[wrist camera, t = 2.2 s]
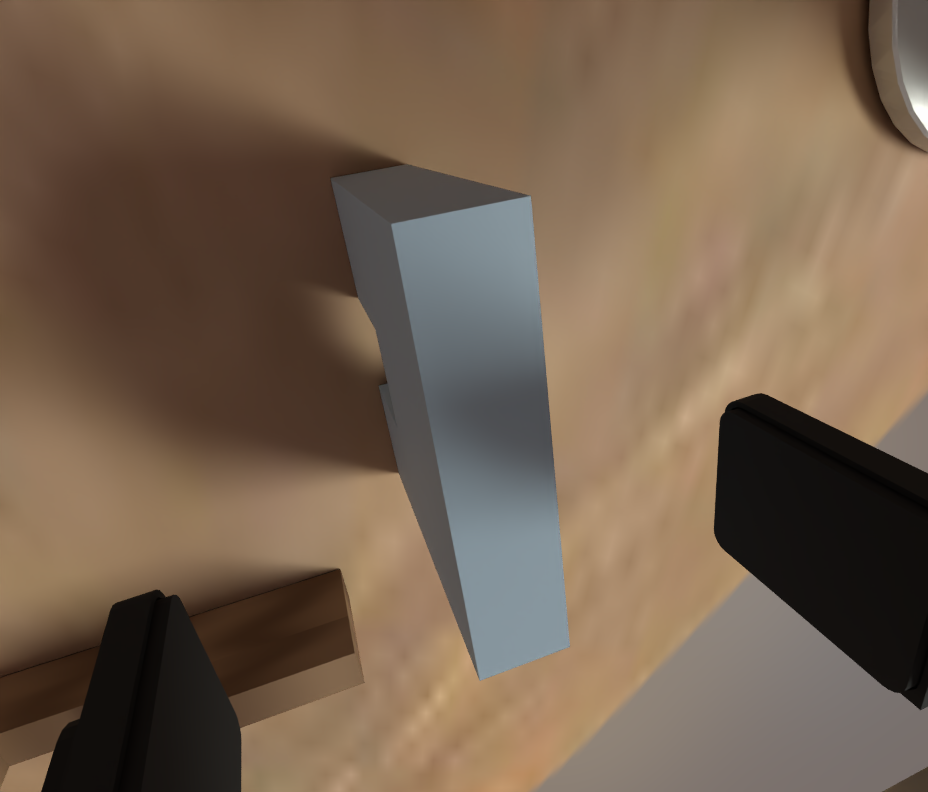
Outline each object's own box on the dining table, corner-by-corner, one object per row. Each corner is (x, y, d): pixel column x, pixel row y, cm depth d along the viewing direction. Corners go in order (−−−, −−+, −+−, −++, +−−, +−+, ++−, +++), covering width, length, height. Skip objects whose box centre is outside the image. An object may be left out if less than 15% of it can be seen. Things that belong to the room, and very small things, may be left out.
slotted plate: (330, 177, 16) (391, 223, 9) (406, 164, 17) (530, 195, 9) (398, 473, 21) (479, 680, 13) (457, 456, 21) (569, 646, 13)
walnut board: (339, 568, 22) (354, 653, 18) (349, 596, 22) (364, 682, 19) (-239, 754, 18) (-359, 903, 15) (-209, 781, 19) (-317, 929, 15)
